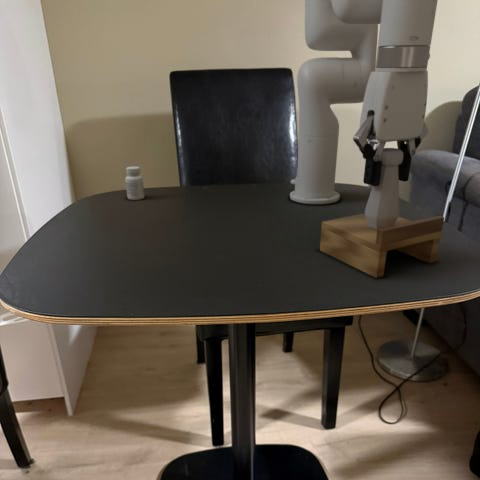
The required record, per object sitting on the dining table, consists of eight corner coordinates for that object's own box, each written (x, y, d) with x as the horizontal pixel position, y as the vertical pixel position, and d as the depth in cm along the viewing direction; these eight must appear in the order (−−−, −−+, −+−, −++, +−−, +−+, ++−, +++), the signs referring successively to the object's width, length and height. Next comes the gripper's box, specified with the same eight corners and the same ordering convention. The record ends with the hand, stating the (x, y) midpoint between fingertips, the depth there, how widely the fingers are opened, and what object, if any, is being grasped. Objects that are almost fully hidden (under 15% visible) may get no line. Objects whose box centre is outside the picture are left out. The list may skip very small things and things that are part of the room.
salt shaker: (356, 223, 86) (365, 147, 80) (383, 219, 88) (393, 144, 82) (375, 232, 81) (386, 152, 75) (404, 228, 83) (416, 150, 77)
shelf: (319, 250, 90) (322, 208, 86) (375, 237, 96) (380, 197, 92) (376, 278, 79) (382, 231, 75) (435, 261, 84) (444, 217, 81)
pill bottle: (138, 195, 128) (134, 165, 124) (148, 197, 125) (144, 167, 122) (124, 198, 125) (120, 167, 121) (134, 201, 123) (130, 170, 119)
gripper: (422, 60, 79) (405, 172, 87) (341, 61, 71) (331, 184, 80) (461, 59, 73) (439, 180, 82) (376, 61, 66) (362, 193, 74)
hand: (385, 181), depth 81 cm, fingers open, 5 cm apart
